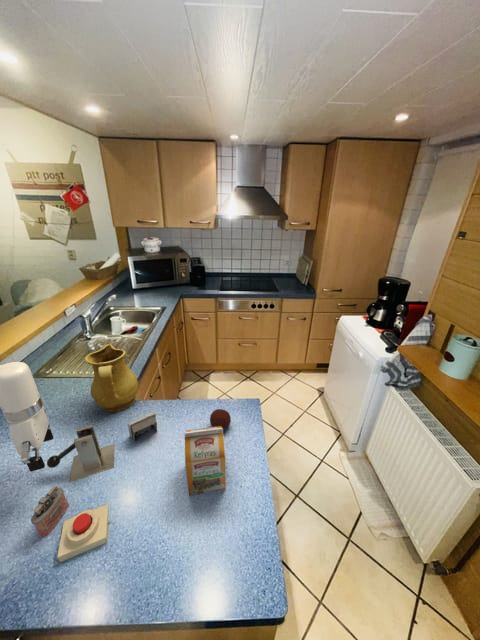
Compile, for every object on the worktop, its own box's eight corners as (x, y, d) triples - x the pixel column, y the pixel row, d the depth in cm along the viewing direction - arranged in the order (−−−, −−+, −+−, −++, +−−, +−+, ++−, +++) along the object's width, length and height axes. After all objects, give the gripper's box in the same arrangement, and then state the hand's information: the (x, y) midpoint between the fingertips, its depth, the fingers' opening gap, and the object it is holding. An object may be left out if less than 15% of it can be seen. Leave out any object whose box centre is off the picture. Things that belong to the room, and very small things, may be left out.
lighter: (48, 541, 61) (35, 517, 57) (36, 538, 62) (22, 514, 57) (74, 506, 68) (64, 482, 64) (63, 503, 69) (52, 480, 65)
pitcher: (149, 389, 111) (137, 341, 100) (125, 423, 95) (107, 371, 84) (114, 385, 114) (99, 338, 103) (85, 417, 98) (63, 366, 86)
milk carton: (221, 457, 82) (221, 413, 74) (225, 489, 73) (225, 444, 65) (189, 461, 81) (184, 418, 73) (188, 496, 71) (183, 450, 63)
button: (73, 536, 59) (71, 532, 58) (75, 520, 62) (73, 516, 61) (90, 530, 60) (88, 526, 60) (92, 514, 63) (90, 510, 63)
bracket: (69, 484, 74) (56, 452, 68) (74, 458, 81) (62, 427, 75) (114, 469, 78) (105, 438, 72) (115, 446, 85) (107, 416, 80)
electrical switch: (155, 425, 94) (153, 408, 89) (160, 435, 90) (158, 418, 86) (129, 437, 89) (125, 420, 84) (134, 449, 85) (130, 431, 81)
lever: (52, 472, 73) (42, 467, 71) (55, 462, 76) (45, 458, 74) (92, 440, 74) (84, 436, 72) (93, 432, 77) (85, 427, 75)
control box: (59, 562, 58) (54, 553, 56) (66, 525, 64) (62, 516, 63) (107, 542, 61) (104, 533, 60) (109, 508, 68) (106, 500, 66)
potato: (212, 418, 97) (211, 404, 94) (231, 419, 97) (231, 405, 94) (208, 433, 91) (207, 419, 88) (229, 435, 90) (229, 421, 87)
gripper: (17, 390, 70) (35, 434, 77) (-10, 438, 56) (15, 487, 63) (49, 384, 73) (64, 427, 80) (31, 428, 58) (51, 476, 65)
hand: (42, 453), depth 71 cm, fingers open, 9 cm apart
